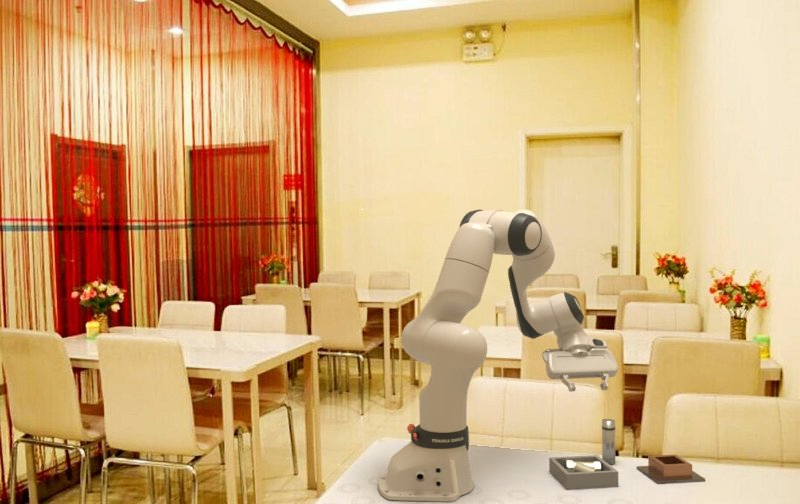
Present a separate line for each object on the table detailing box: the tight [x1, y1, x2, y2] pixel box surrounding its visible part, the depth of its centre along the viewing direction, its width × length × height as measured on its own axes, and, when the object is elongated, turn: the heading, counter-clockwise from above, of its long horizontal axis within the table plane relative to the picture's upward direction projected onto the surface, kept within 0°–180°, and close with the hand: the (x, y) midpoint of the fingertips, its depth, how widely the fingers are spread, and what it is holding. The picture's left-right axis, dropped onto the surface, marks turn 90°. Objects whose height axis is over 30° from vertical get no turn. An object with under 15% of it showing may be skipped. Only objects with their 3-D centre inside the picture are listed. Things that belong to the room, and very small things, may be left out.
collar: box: [636, 454, 706, 485], centre depth 154 cm, size 12×10×4 cm
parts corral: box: [548, 454, 619, 490], centre depth 152 cm, size 12×12×4 cm
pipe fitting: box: [566, 460, 601, 473], centre depth 153 cm, size 8×4×7 cm
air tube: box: [601, 418, 616, 466], centre depth 163 cm, size 3×3×11 cm
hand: (589, 389), depth 175 cm, fingers open, 8 cm apart
